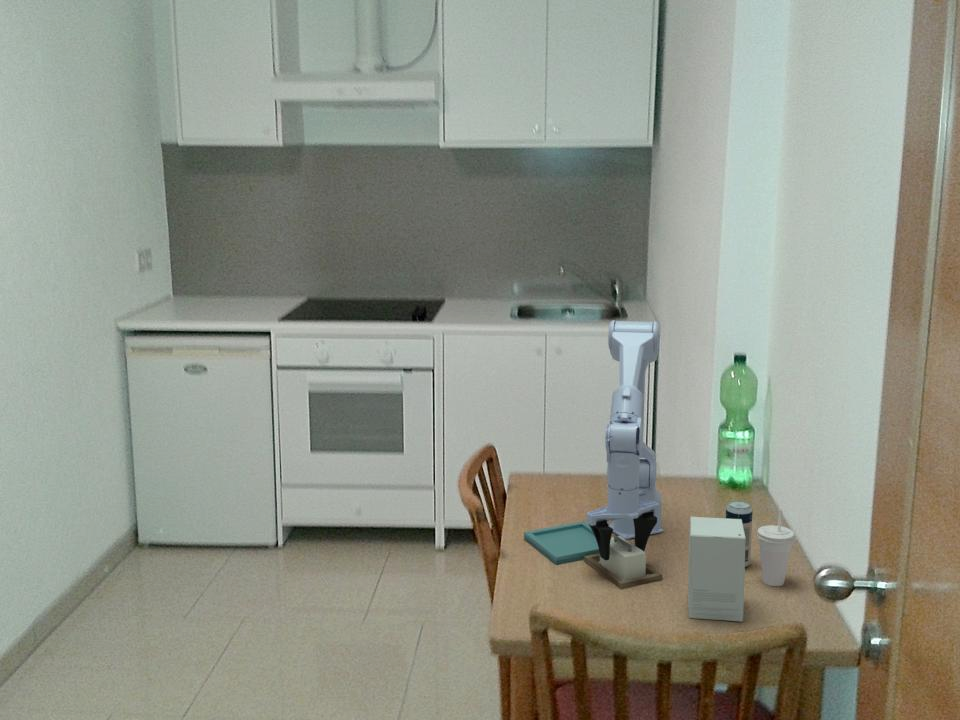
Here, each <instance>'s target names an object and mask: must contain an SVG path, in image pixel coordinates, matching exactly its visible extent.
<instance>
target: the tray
mask: <svg viewBox="0 0 960 720" xmlns="http://www.w3.org/2000/svg"><path fill="white" fill-rule="evenodd" d="M523 540H525V541H526V542H527V543H528V544H529V545H531V546H532V547H533V548H535V549H536V550H537V551H539V552H540V553H541V554H542V555H543V556H545V558H547V559H548V560H549V561H551V562H552V563H553V564H555V565H556V566H557V565H562V564H567V563H572V562H576V561H581V560H584V556H588V555H593V554H598V553H600V552H599V548H598V544H597V541H596V538H595V536H594V533H593V531H592V529H591V528H590V526H589V524H588V523H587V522H586V521H585V520H584V521H578V522H577V521H576V522H572V523H566V524H561V525H556V526H551V527H550V526H549V527H544V528H538V529H534V530H529V531H524V532H523Z"/></svg>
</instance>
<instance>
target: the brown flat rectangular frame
mask: <svg viewBox="0 0 960 720" xmlns="http://www.w3.org/2000/svg"><path fill="white" fill-rule="evenodd" d="M598 561H599V562H598ZM583 562H585V563H586V564H587V565H589V566H590V567H591V568H592V569H593V570H595V571H596V572H598V573H599V574H601V575H602V576H603V577H605V579H608V581H610V582H611V583H612V584H614V585H615V586H617V587H618V588H619V589H627V588H632V587H635V586H641V585H644V584H645V585H646V584H649V583H654V582H658V581H662V580H663V574H662V573H661V572H660V571H658V570H656V569H655V568H653V567H651V566H650V565H649V564H647V563H646V573H645V576H641V577H637V578H632V579H627V580H622V579H620V578H619V577H617V576H616V575H615V574H613V573H612V572H611V571H609V570H608V569H607V568H605V567H604V566H602V565H601V564H600V553H598V554H593V555H588V556H584V559H583ZM646 574H647V575H646Z"/></svg>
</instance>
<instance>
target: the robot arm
mask: <svg viewBox="0 0 960 720" xmlns="http://www.w3.org/2000/svg"><path fill="white" fill-rule="evenodd" d="M607 333H608V338H607V343H608V349H609V352H610V355H611V357H612V359H613V360H614V361H616V362H619V387H618V388H616V389H615V390H614V391H613V392H612V397H611V405H610V414H609V415H610V417H609V424H606V427H605V436H604V441H605V442H604V443H605V444H604V445H605V451H606V464H607V466H606V485H607V505H605V506H602V507H600V508H597V509H595V510H592V511H588V512H586V513H585V514H586V516H585V517H586V518H585V519H586V521H585V522H586V523H588V524H589V526H590V528H591V529H592V531H593V533H594V536H595V538H596V541H597V544H598V548H599V552H600V557H601V558H603V559H604V560H609V557H610V541H611V537H613V536H612V535H613V534H615V535H616V536H621V537H622V538H624V539H625V540H630V539H633V538H634V545H635V546H636V547H638V548H639V549H641V550H642V551H644V552H645V551H646V547H647V544H648V541H649V538H650V536H651V535H653V534H659V533H664V529H663V528H662V508H663V507H662V506H663V505H662V503H663V502H662V497H661V494H660V492H659V490H658V489H657V488H656V485H657V455H656V453H655V451H654V450H653V449H652V448H651V447H649V446H648V445H647V444H646V443H645V442H644V426H645V425H644V424H645V423H644V422H645V420H644V419H645V395H646V394H645V388H646V372H647V369H648V366H649V364H651V363H653V362H656V361H657V360H658V357H659V349H660V324H659V322H658V321H657V320H654V321H632V320H631V321H627V320H626V321H624V320H620V321H619V320H618V321H617V320H615V319H614V320H611V322H609V326H608V332H607ZM611 521H612V522H611ZM608 522H610V523H608Z"/></svg>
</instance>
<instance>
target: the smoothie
mask: <svg viewBox="0 0 960 720" xmlns="http://www.w3.org/2000/svg"><path fill="white" fill-rule="evenodd" d="M777 511H778V514H777V525H772V524H771V525H763V526H760V527H759V528H758V529H757V532H756V533H757V534H756V536H757V538H758V540H759V543H758V544H759V552H760V562H761V563H760V564H761V566H760V567H761V577H762V583H764V584H765V585H767V586H770V587H781V586H784V584H785V580H786V574H787V569H788V563H789V558H790V554H791V549H792V543H793V542H794V540H795V533H794V530H792V529H791V528H788V527H786V526H782V516H783V515H782V514H783V511H782V508H780V507H779V508H778V510H777Z"/></svg>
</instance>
